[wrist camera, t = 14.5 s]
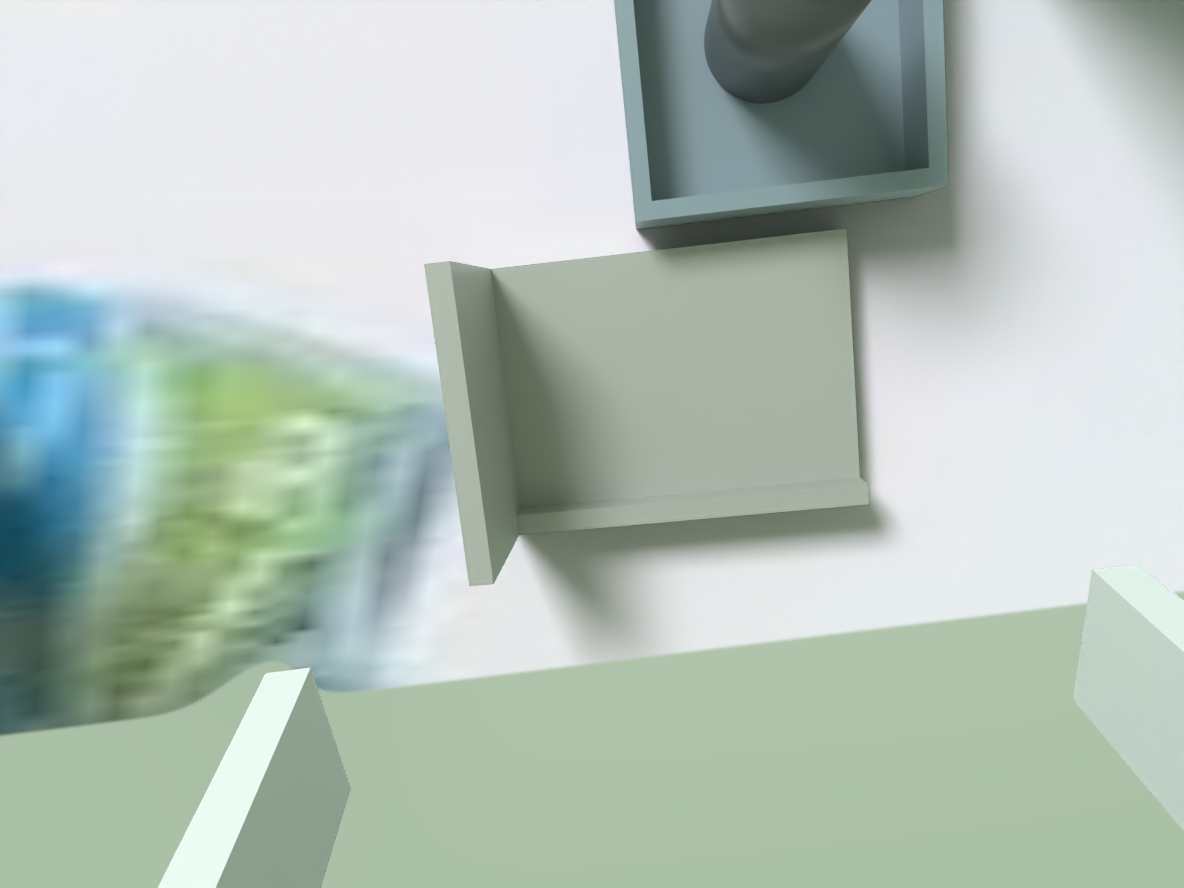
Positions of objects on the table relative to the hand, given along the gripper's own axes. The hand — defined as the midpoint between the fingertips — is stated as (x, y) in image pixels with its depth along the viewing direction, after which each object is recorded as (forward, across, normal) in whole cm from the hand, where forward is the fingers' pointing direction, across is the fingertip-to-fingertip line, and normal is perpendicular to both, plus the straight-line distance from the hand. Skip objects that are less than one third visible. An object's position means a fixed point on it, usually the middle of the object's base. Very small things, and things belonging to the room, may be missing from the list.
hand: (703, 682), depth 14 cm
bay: (+28, +2, -5) cm, 28 cm away
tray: (+31, +9, +10) cm, 34 cm away
